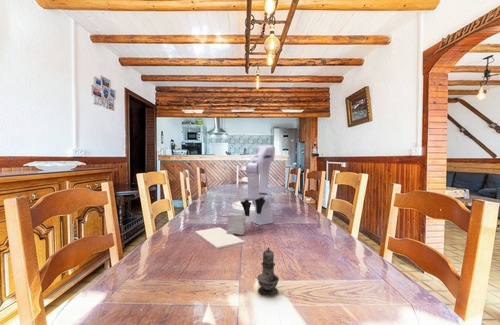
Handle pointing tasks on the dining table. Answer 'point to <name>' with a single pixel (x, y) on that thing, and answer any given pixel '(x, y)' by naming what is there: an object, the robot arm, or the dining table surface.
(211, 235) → the mat
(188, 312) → the dining table surface
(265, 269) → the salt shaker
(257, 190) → the robot arm
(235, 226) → the medicine box
